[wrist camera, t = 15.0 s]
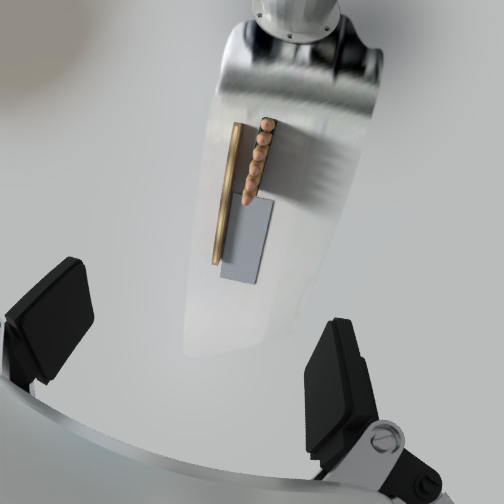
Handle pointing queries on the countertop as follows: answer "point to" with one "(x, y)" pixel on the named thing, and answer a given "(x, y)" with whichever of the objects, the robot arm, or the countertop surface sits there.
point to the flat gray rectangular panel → (245, 238)
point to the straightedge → (226, 191)
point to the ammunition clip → (258, 159)
